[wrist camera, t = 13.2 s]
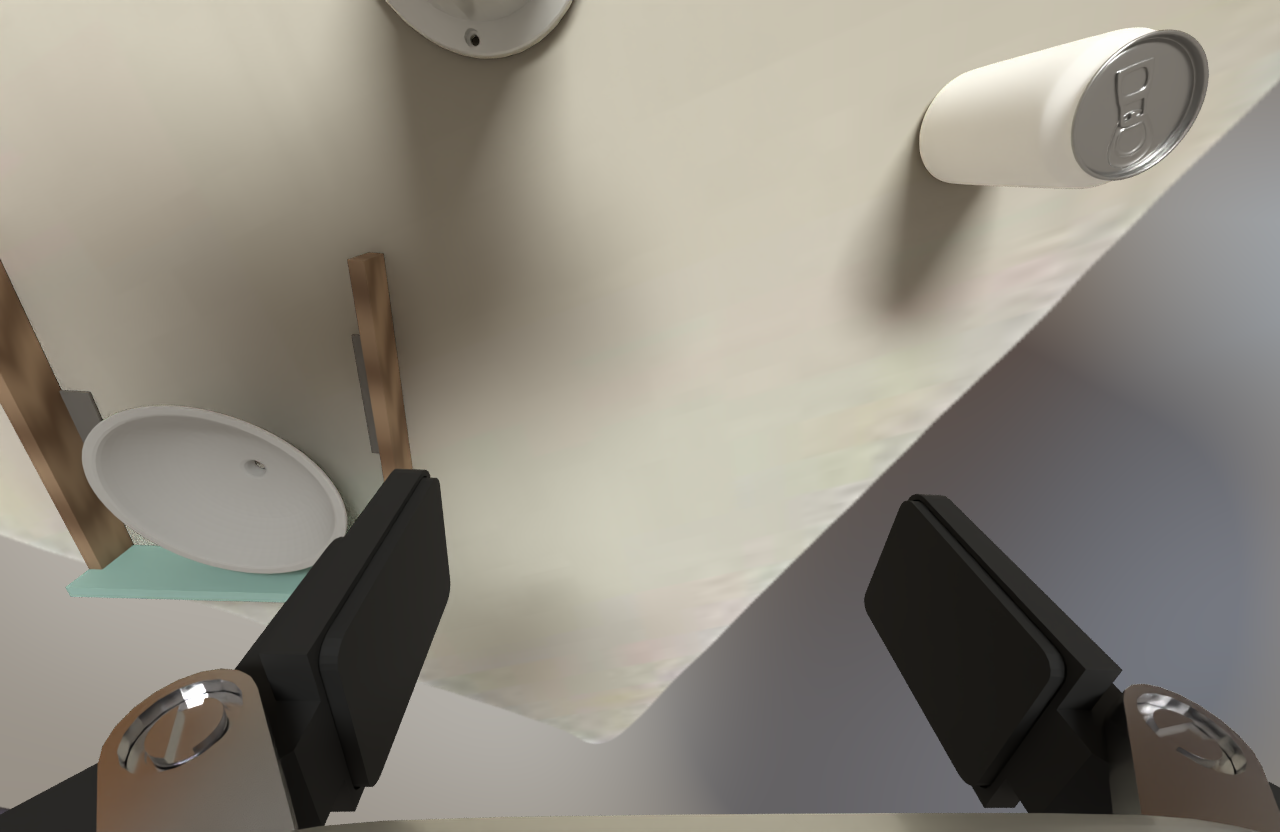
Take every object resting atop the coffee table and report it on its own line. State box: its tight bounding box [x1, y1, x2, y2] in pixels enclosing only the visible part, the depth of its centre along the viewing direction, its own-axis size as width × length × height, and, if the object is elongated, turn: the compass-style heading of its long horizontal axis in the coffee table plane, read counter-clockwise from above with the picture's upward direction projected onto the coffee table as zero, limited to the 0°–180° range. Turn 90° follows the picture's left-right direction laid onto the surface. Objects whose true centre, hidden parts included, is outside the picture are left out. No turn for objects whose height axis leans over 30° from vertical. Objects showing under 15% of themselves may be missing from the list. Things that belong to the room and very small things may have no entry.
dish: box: [82, 405, 347, 574], centre depth 39 cm, size 18×14×5 cm
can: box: [919, 27, 1209, 189], centre depth 27 cm, size 6×6×12 cm
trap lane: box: [0, 252, 412, 602], centre depth 37 cm, size 28×26×5 cm
